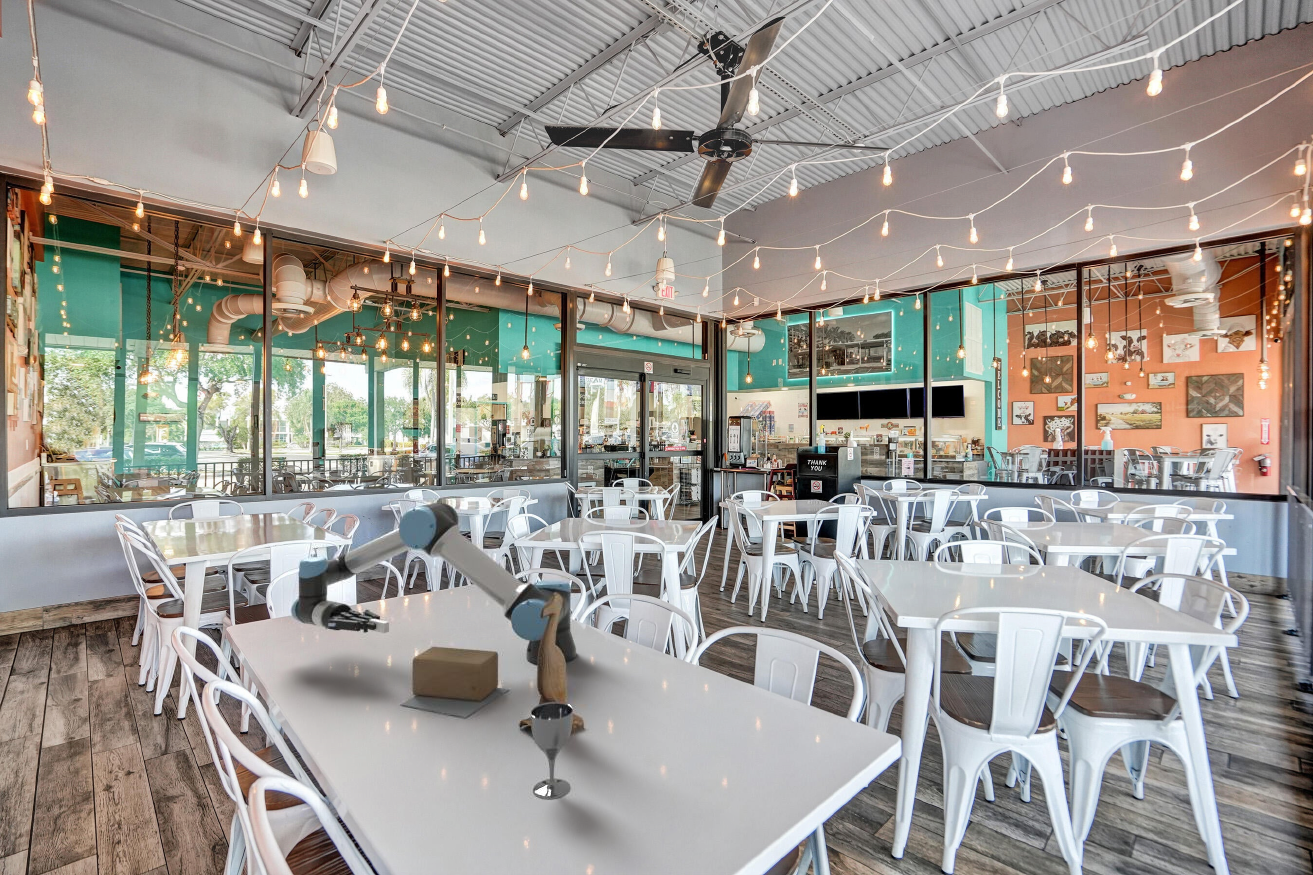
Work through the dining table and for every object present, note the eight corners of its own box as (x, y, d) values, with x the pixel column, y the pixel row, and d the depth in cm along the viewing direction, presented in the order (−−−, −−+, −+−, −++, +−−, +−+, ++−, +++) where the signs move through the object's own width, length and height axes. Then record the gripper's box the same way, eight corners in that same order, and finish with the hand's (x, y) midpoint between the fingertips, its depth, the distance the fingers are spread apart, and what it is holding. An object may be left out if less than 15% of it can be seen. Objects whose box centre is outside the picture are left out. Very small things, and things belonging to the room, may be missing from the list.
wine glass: (533, 778, 124) (533, 702, 124) (573, 776, 125) (573, 701, 125) (528, 801, 116) (528, 720, 116) (571, 799, 117) (571, 718, 117)
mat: (508, 690, 168) (508, 689, 168) (465, 718, 151) (465, 716, 151) (448, 679, 175) (448, 678, 175) (400, 705, 158) (400, 704, 158)
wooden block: (410, 695, 163) (481, 702, 159) (410, 657, 163) (481, 663, 159) (432, 681, 173) (499, 687, 169) (432, 645, 173) (499, 650, 169)
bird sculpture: (516, 731, 145) (514, 593, 144) (555, 713, 154) (553, 583, 153) (548, 747, 138) (546, 602, 137) (586, 726, 147) (585, 591, 146)
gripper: (353, 622, 190) (406, 634, 178) (311, 634, 178) (365, 647, 167) (353, 597, 190) (406, 608, 178) (311, 607, 178) (365, 619, 167)
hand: (386, 627), depth 173 cm, fingers closed
